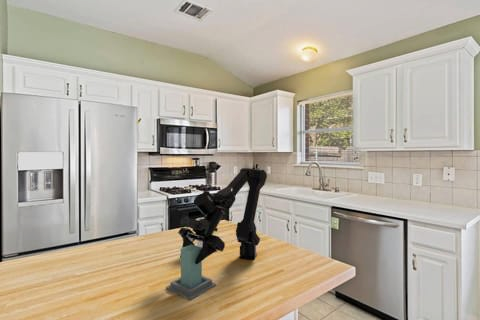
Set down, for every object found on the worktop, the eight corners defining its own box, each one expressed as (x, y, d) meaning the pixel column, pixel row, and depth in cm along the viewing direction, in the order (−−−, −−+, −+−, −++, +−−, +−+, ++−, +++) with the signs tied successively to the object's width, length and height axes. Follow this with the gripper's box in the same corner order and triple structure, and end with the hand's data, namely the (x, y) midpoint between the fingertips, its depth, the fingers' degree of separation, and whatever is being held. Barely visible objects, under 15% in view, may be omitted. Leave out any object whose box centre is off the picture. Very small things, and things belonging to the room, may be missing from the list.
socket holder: (192, 275, 101) (192, 270, 101) (216, 285, 94) (216, 279, 93) (166, 288, 91) (166, 282, 91) (190, 300, 84) (190, 294, 84)
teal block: (191, 280, 96) (191, 244, 95) (201, 284, 93) (201, 247, 92) (180, 286, 92) (180, 248, 92) (190, 290, 89) (190, 251, 88)
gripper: (181, 205, 100) (156, 243, 92) (219, 212, 89) (194, 256, 81) (197, 222, 107) (175, 258, 99) (234, 230, 96) (212, 272, 87)
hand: (188, 260), depth 91 cm, fingers open, 7 cm apart
